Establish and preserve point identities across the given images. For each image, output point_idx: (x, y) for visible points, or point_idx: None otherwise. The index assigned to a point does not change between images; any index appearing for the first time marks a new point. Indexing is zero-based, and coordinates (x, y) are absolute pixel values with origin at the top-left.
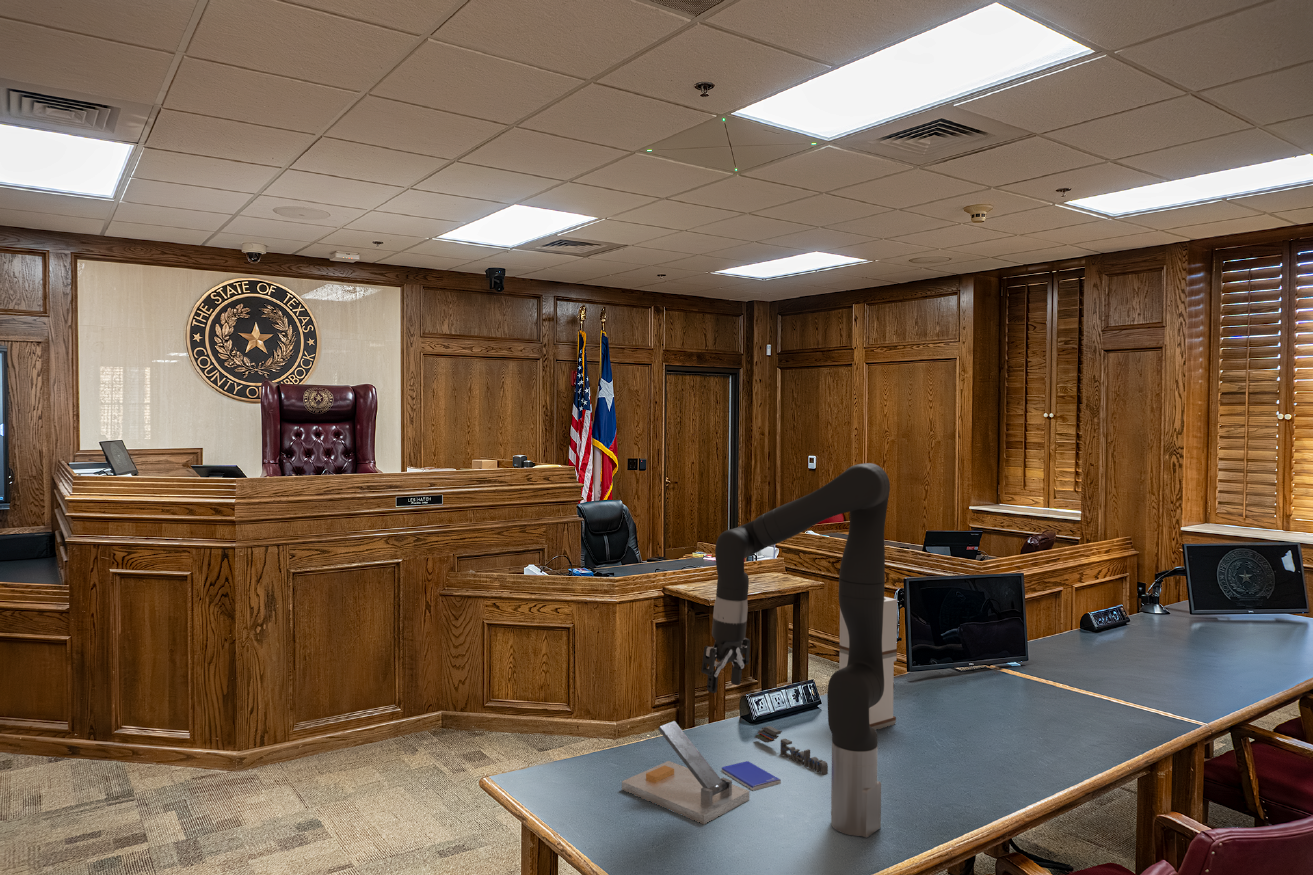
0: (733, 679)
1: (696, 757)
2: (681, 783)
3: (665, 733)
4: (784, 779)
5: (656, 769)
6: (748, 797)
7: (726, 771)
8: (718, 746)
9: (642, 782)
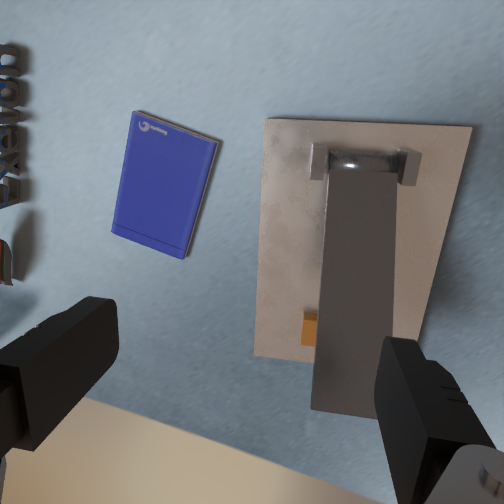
0: (101, 355)
1: (348, 263)
2: None
3: None
4: (114, 115)
5: None
6: (271, 118)
7: (188, 242)
8: None
9: None
